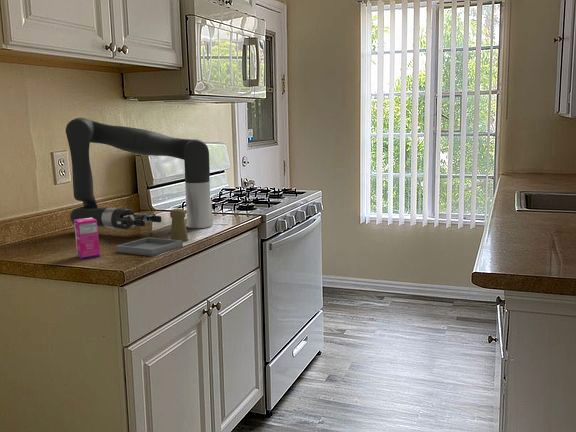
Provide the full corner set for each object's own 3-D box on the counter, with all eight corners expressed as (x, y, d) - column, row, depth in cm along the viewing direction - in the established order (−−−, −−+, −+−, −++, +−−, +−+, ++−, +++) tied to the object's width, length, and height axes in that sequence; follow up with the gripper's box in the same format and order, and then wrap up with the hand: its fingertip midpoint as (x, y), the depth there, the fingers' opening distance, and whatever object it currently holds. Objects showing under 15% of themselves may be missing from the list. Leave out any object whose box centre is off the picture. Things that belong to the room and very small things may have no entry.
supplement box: (76, 256, 182) (73, 219, 181) (96, 253, 185) (93, 217, 184) (80, 259, 177) (77, 221, 176) (100, 256, 181) (98, 219, 179)
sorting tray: (148, 243, 199) (147, 237, 199) (182, 246, 192) (182, 240, 192) (116, 252, 187) (116, 245, 186) (152, 256, 180) (152, 249, 179)
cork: (180, 238, 207) (178, 207, 205) (191, 240, 203) (190, 208, 201) (166, 241, 202) (164, 209, 200) (178, 243, 198) (176, 210, 196)
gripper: (102, 210, 207) (138, 213, 200) (131, 205, 220) (165, 207, 212) (103, 232, 209) (139, 235, 201) (132, 225, 221) (166, 228, 213)
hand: (152, 221), depth 207 cm, fingers open, 8 cm apart
